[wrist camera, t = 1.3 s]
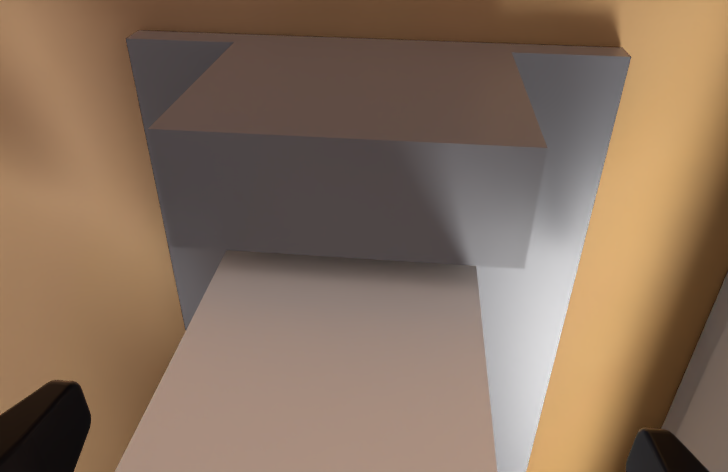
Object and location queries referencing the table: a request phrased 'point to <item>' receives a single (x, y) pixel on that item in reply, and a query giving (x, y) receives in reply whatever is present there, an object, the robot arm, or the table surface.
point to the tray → (705, 393)
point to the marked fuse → (324, 372)
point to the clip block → (390, 171)
